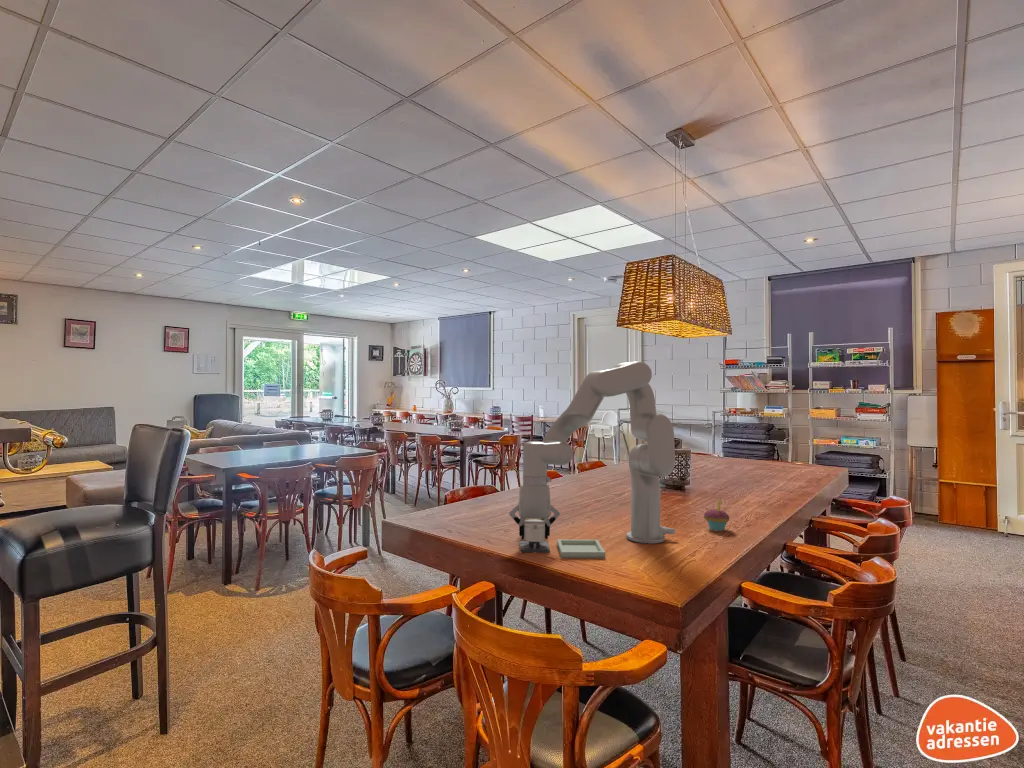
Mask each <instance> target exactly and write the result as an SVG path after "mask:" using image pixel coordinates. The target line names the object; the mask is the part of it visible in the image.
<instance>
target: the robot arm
mask: <svg viewBox="0 0 1024 768" xmlns="http://www.w3.org/2000/svg"><path fill="white" fill-rule="evenodd" d="M652 376H653V372H652V369H651V368H650V366H649V365H648V364H647V363H645V362H643V361H639V360H638V361H637V360H636V361H628V362H621V363H617V364H616V365H614V366H613V367H612V368H611V369H610V368H609V369H604V370H594V371H593V370H592V371H590V372H589V373H588V374H587V375H586V376H585V377H584V379H583V380H582V382H581V384H580V386H579V388H578V389H577V391H576V393H575V395H574V396H573V397H572V400H571V402H570V403H569V405H568V406H567V408H566V409H565V410H564V411H563V412H562V413H561V414H560V415H559V416H558V418H557V419H556V420H555V421H554V422H553V423H552V424H551V426H550V427H549V429H548V431H547V432H546V434H545V435H544V437H543V439H542V441H537V440H536V441H535V440H534V441H533V440H532V441H530V440H529V441H526V442H524V443H523V446H522V447H523V448H522V483H521V484H520V485H519V492H518V504H517V505H516V506H514V507H513V508H512V509H511V510H510V511H509V512H508V515H509V516H510V517H511V518H512V519H513V521H514V522H515V523H516V524H517V525H518V526H519V527H518V532H519V533H518V534H519V536H520V537H521V539H522V540H524V525H523V523H524V521H525V519H526V518H544V520H545V522H546V524H545V540H548V539H549V538H548V537H550V534H551V533H550V531H551V529H550V528H551V526H552V524H553V523H555V521H556V520H557V519H558V518H559V517H560V516H561V513H560V511H559V510H558V509H557V508H556V507H554V506H553V505H552V501H551V491H550V490H551V489H550V485H549V484H548V483H550V482H551V483H552V477H550V476H548V474H547V473H548V468H547V467H548V465H553V466H565V465H568V464H569V463H571V461H572V460H573V458H574V450H573V448H572V446H571V445H570V444H569V443H567V441H568V439H569V438H570V437H571V436H572V434H574V433H575V432H576V431H577V430H579V429H580V428H583V427H584V426H586V425H587V424H588V423H590V422H591V421H592V419H593V417H594V416H595V413H596V412H597V411H598V409H599V407H600V405H601V403H602V402H603V400H604V398H610V397H616V396H620V395H623V394H626V396H627V398H628V404H629V417H630V419H629V421H630V433H631V434H632V436H633V438H635V439H637V440H640V441H643V442H644V441H645V442H646V443H642V444H641V443H640V444H637V445H635V446H634V447H632V448H631V450H630V451H629V454H628V466H629V473H630V488H631V489H630V531H627V532H626V534H625V536H626V539H627V540H629V541H631V542H636V543H638V544H647V543H648V544H660V543H663V542H665V541H666V536H665V535H675V534H676V530H675V529H676V528H674V527H671V528H670V527H667V526H662V524H661V483H660V478H663V477H667V476H669V475H670V474H671V473H673V471H674V468H675V465H676V464H675V463H676V450H675V449H676V447H675V445H676V444H675V431H674V426H673V424H672V421H671V420H670V419H669V417H668V416H666V415H665V414H663V413H658V412H657V407H656V398H655V394H654V393H655V392H654V391H653V388H652V387H651V385H650V382H651V380H652ZM517 512H518V516H519V517H520V518H519V517H518V516H517V515H516V513H517ZM552 513H553V515H552V516H551V514H552ZM549 517H550V518H549Z"/></svg>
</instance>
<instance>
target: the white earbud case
mask: <svg viewBox="0 0 1024 768" xmlns="http://www.w3.org/2000/svg"><path fill="white" fill-rule="evenodd" d="M523 541H530V542H540V541H546V539H545V521H543V520H537V519H531V520H525V521H524V539H523Z"/></svg>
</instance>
